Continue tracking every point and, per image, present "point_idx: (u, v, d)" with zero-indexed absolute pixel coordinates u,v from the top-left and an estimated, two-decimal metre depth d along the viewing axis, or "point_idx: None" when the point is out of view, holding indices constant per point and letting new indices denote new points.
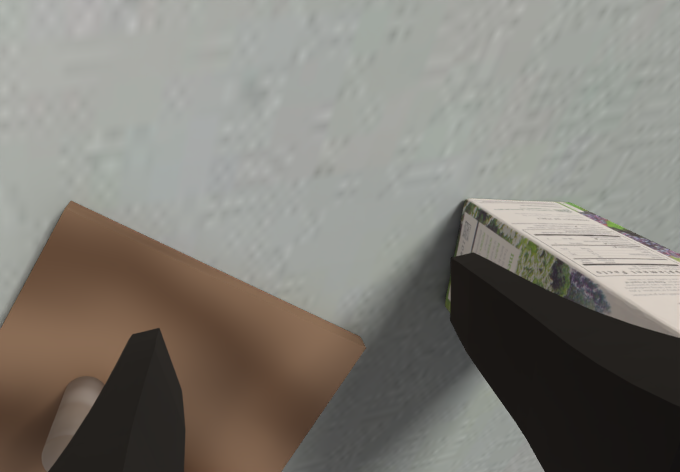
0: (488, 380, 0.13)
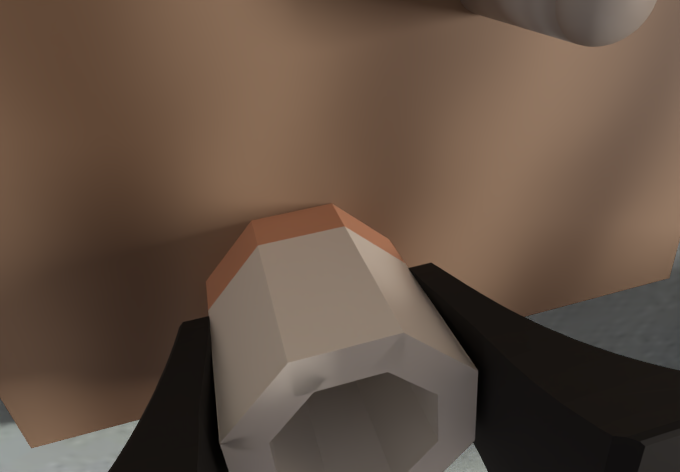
0: None
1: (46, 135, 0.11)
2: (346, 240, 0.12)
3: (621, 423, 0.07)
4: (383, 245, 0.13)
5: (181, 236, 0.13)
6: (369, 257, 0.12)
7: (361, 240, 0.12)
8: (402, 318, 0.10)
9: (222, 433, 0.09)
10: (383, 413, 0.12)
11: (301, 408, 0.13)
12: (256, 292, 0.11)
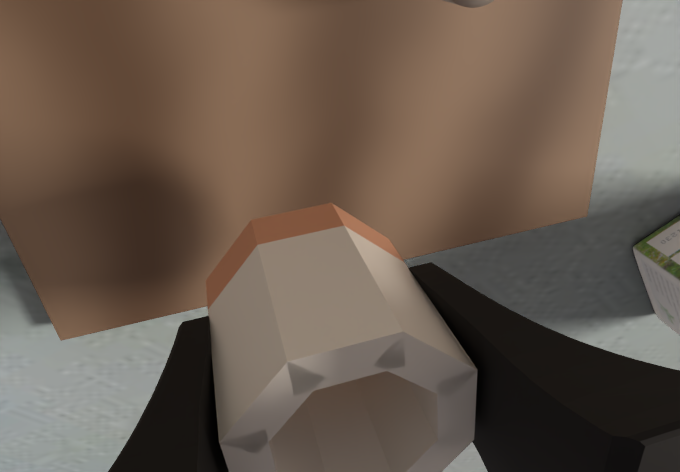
0: None
1: (80, 79, 0.14)
2: (346, 239, 0.12)
3: (621, 423, 0.07)
4: (383, 244, 0.13)
5: (180, 163, 0.16)
6: (369, 256, 0.12)
7: (361, 239, 0.12)
8: (401, 317, 0.10)
9: (222, 432, 0.09)
10: (382, 412, 0.12)
11: (301, 407, 0.13)
12: (256, 291, 0.11)
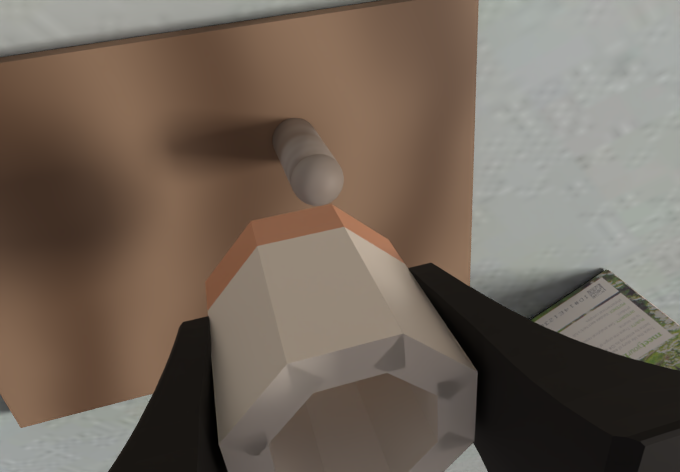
0: None
1: (28, 239, 0.18)
2: (346, 241, 0.12)
3: (621, 423, 0.07)
4: (383, 246, 0.13)
5: (113, 293, 0.20)
6: (368, 258, 0.12)
7: (361, 241, 0.12)
8: (401, 320, 0.10)
9: (221, 434, 0.09)
10: (382, 414, 0.12)
11: (300, 409, 0.13)
12: (255, 293, 0.11)
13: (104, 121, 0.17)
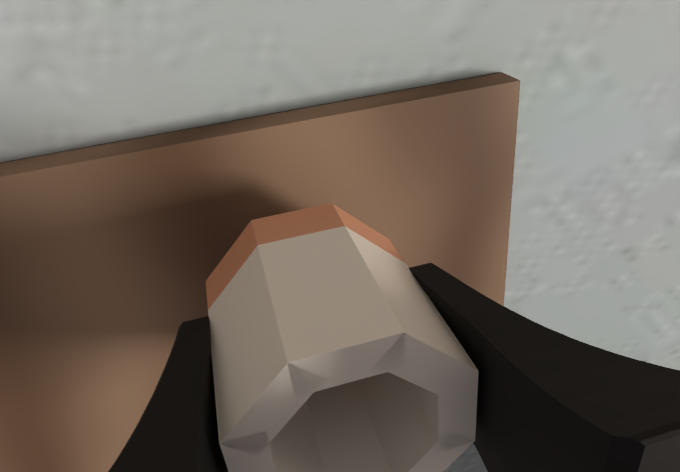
0: None
1: None
2: (346, 240, 0.12)
3: (621, 423, 0.07)
4: (383, 245, 0.13)
5: (75, 434, 0.17)
6: (369, 257, 0.11)
7: (361, 240, 0.12)
8: (402, 318, 0.10)
9: (222, 433, 0.09)
10: (383, 413, 0.12)
11: (301, 408, 0.13)
12: (256, 292, 0.11)
13: (55, 251, 0.14)
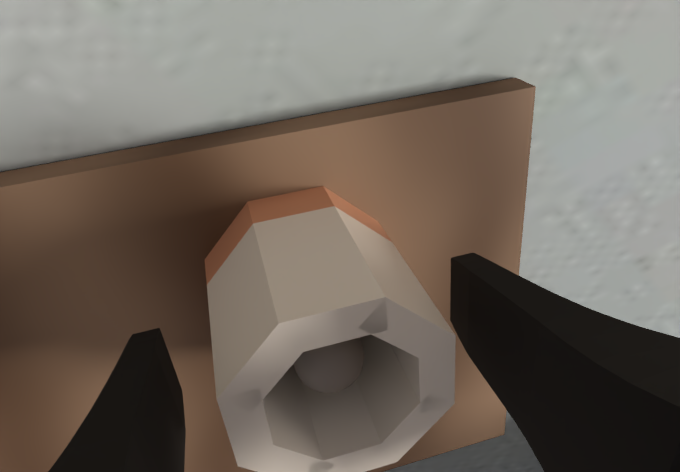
0: (488, 380, 0.13)
1: None
2: (336, 218, 0.13)
3: None
4: (371, 225, 0.14)
5: None
6: (356, 234, 0.12)
7: (350, 219, 0.13)
8: (384, 286, 0.10)
9: (219, 390, 0.10)
10: (370, 381, 0.13)
11: (294, 378, 0.14)
12: (251, 265, 0.12)
13: (49, 265, 0.13)
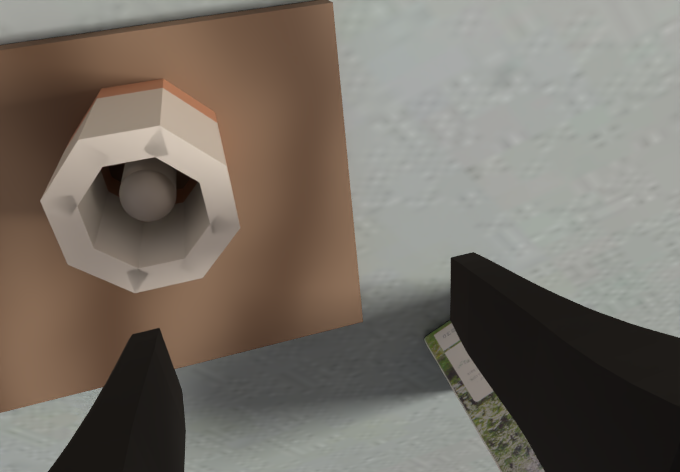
0: (488, 379, 0.13)
1: None
2: (158, 93, 0.16)
3: None
4: (201, 109, 0.18)
5: None
6: (172, 103, 0.16)
7: (174, 97, 0.17)
8: (167, 123, 0.14)
9: (43, 195, 0.14)
10: (190, 223, 0.17)
11: (136, 225, 0.17)
12: (84, 121, 0.16)
13: None
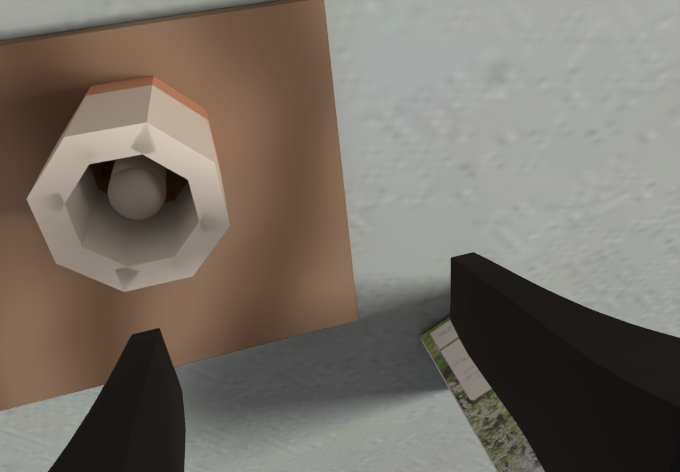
0: (488, 379, 0.13)
1: None
2: (147, 90, 0.16)
3: None
4: (191, 106, 0.18)
5: None
6: (161, 100, 0.16)
7: (164, 94, 0.17)
8: (154, 120, 0.14)
9: (29, 193, 0.14)
10: (180, 221, 0.17)
11: (126, 223, 0.17)
12: (72, 118, 0.15)
13: None
